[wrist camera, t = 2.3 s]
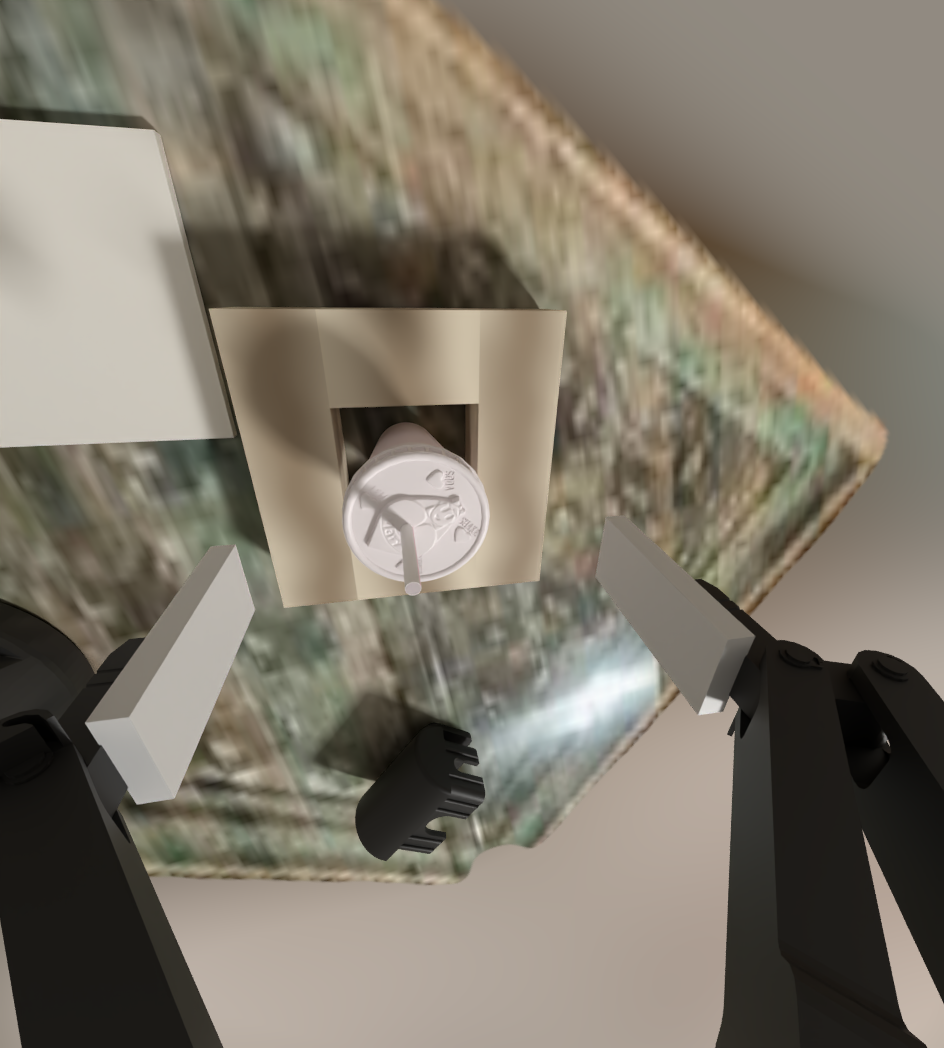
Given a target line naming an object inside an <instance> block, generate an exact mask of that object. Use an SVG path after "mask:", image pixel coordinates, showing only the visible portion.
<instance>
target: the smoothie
mask: <svg viewBox="0 0 944 1048" xmlns="http://www.w3.org/2000/svg"><path fill="white" fill-rule="evenodd" d="M342 512H343V513H342V525H343V531H344V535H345V539H346V541H347V543H348V546H349V547H350V549H351V551H352V552H353V554H354V555H355V556H356V557H357V559H358V560H359V561H360V562H361V563H362V564H363V565H365V566H366V567H367V568H369V569H370V570H372V571H373V572H375V573H377V574H379V575H381V576H383V577H386V578H389V579H392V580H396V581H402V582H404V583H405V591H406V593H407V594H409V595H417V594H418V593H420V591H421V582H424V581H430V580H435V579H438V578H441V577H444V576H446V575H448V574H450V573H452V572H454V571H456V570H458V569H459V568H460V567H462V566H463V565H464V564H466V563H467V562H468V561H469V560H470V559H471V558H472V557H473V556H474V555H475V553H476V552H477V551H478V549H479V548H480V546H481V545H482V543H483V541H484V539H485V536H486V533H487V530H488V526H489V518H490V511H489V504H488V499H487V496H486V493H485V490H484V486H483V484H482V482H481V480H480V479H479V477H478V475H477V473H476V472H475V470H474V469H473V468H472V467H471V466H470V465H469V464H468V463H467V462H466V461H464V460H463V459H462V458H461V457H460V456H458V455H456V454H454V453H452V452H450V451H448V450H446V449H444V448H443V447H442V446H441V445H440V444H439V443H438V441H437V440H436V439H435V438H434V437H433V436H432V435H431V434H430V433H429V432H428V431H427V430H426V429H425V428H423V427H422V426H420V425H418V424H415V423H410V422H402V423H397V424H395V425H392V426H390V427H389V428H388V429H386V430H385V431H384V432H383V433H382V435H381V436H380V438H379V440H378V442H377V444H376V446H375V448H374V450H373V452H372V454H371V456H370V458H369V460H368V461H367V462H366V463H365V464H364V465H363V466H362V467H361V468H360V469H359V470H358V471H357V472H356V473H355V474H354V476H353V477H352V479H351V481H350V483H349V485H348V487H347V489H346V491H345V496H344V501H343V507H342Z"/></svg>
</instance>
